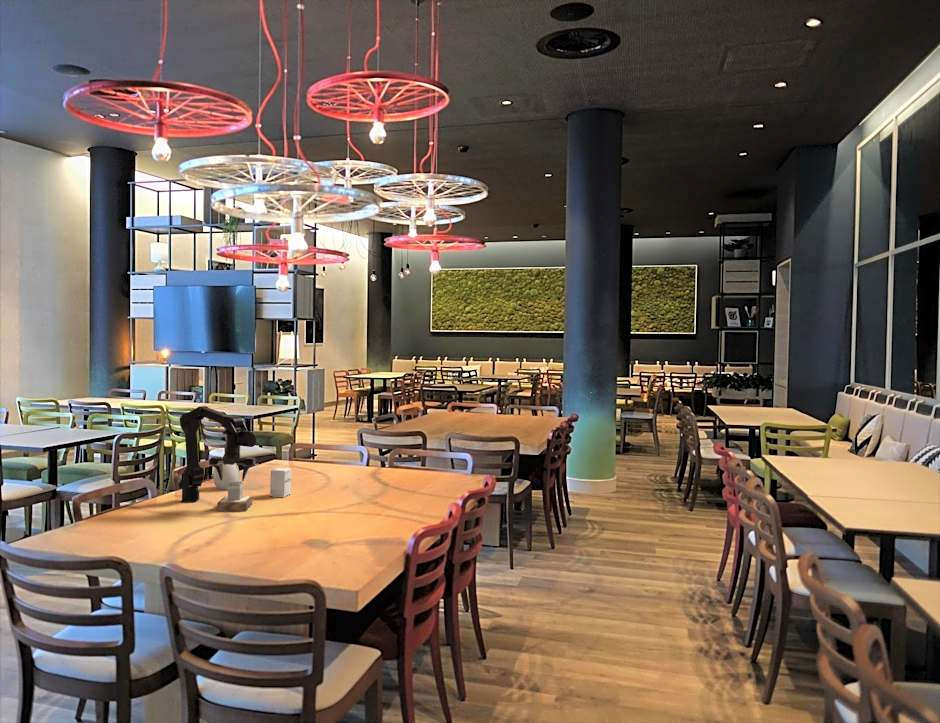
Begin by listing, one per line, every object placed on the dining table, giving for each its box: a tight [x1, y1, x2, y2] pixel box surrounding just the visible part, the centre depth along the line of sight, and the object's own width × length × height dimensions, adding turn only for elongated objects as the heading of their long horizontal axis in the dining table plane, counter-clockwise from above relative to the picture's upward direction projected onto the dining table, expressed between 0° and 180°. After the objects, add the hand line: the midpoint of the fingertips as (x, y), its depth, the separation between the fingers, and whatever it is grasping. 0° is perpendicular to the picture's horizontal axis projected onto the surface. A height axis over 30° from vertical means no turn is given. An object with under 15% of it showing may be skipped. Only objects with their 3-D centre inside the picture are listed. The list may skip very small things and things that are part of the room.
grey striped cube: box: [227, 481, 244, 500], centre depth 305 cm, size 5×5×7 cm
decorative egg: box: [212, 463, 241, 491], centre depth 345 cm, size 12×12×15 cm
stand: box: [216, 495, 253, 512], centre depth 305 cm, size 12×12×4 cm
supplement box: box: [269, 467, 292, 498], centre depth 331 cm, size 7×7×13 cm
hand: (232, 480), depth 306 cm, fingers open, 9 cm apart
